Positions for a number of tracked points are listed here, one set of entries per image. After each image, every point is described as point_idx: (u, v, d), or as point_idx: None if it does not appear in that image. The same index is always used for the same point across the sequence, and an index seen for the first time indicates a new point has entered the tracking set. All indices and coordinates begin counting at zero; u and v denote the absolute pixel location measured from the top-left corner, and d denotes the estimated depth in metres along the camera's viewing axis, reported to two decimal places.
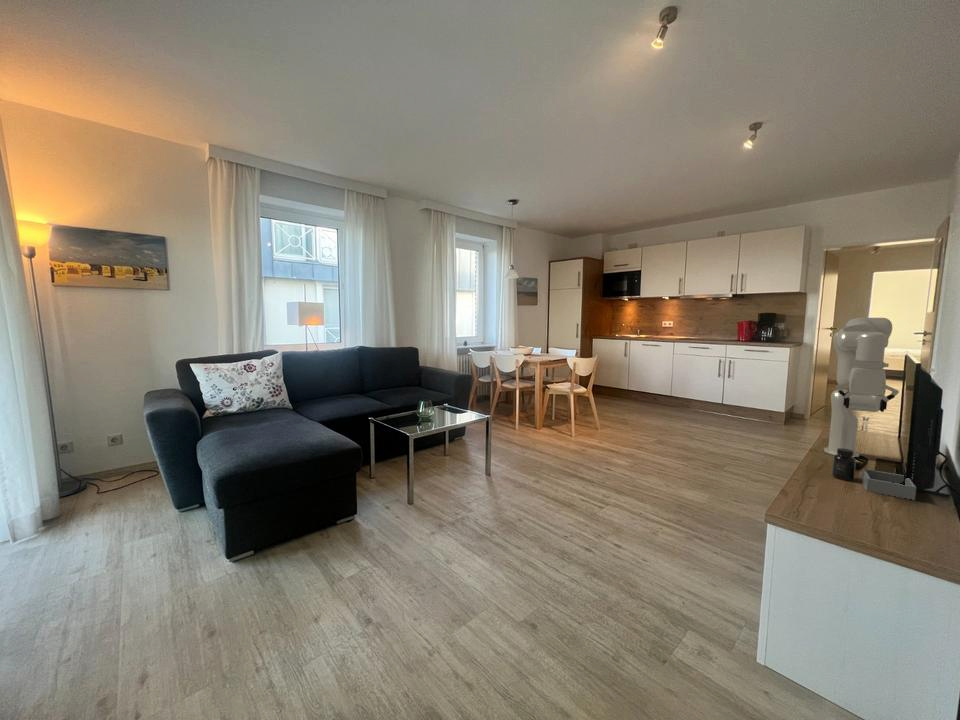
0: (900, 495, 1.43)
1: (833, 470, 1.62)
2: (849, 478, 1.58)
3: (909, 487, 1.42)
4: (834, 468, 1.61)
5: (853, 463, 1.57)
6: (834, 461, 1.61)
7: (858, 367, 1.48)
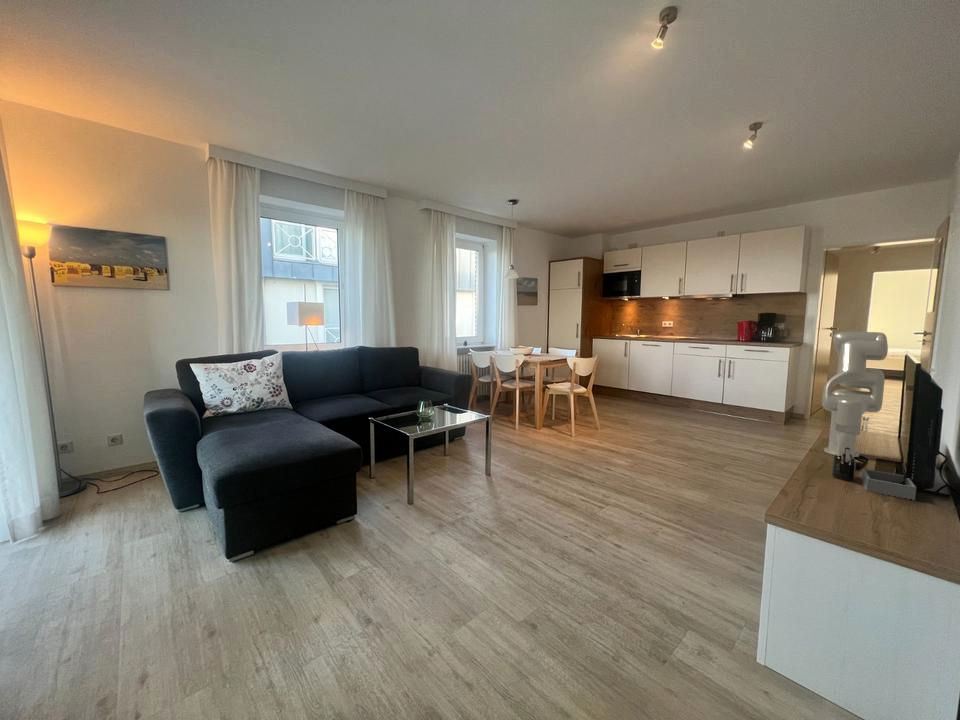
0: (900, 495, 1.43)
1: (833, 470, 1.62)
2: (849, 478, 1.58)
3: (909, 487, 1.42)
4: (834, 468, 1.61)
5: (853, 463, 1.57)
6: (834, 461, 1.61)
7: (856, 433, 1.55)
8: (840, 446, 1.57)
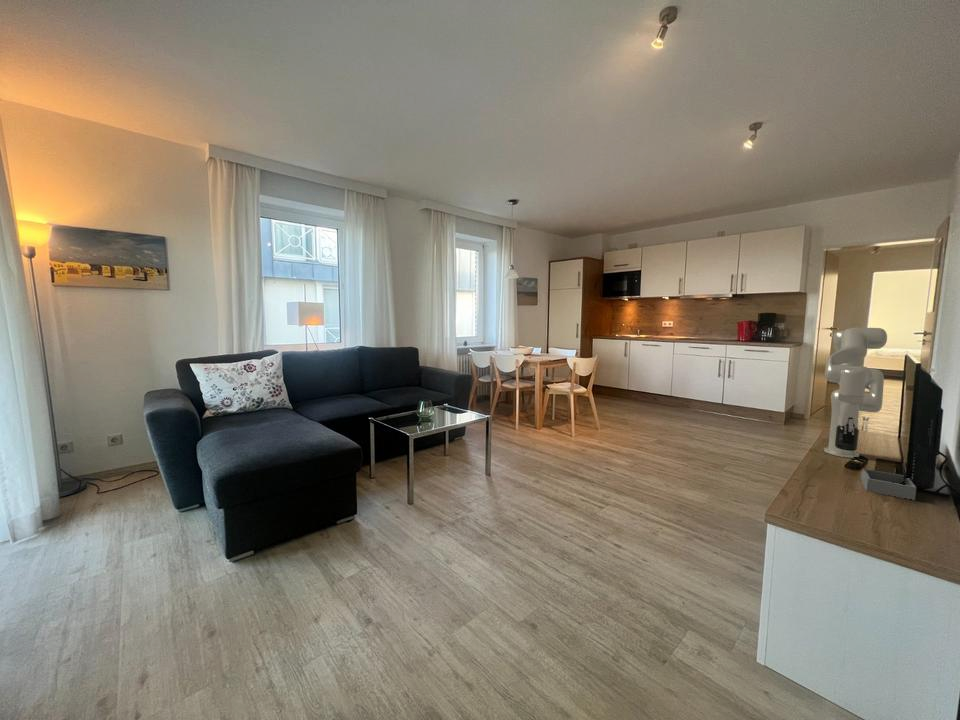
0: (900, 495, 1.43)
1: (836, 441, 1.61)
2: (852, 448, 1.57)
3: (909, 487, 1.42)
4: (837, 439, 1.60)
5: (856, 433, 1.56)
6: (837, 432, 1.60)
7: (859, 402, 1.54)
8: (843, 416, 1.56)
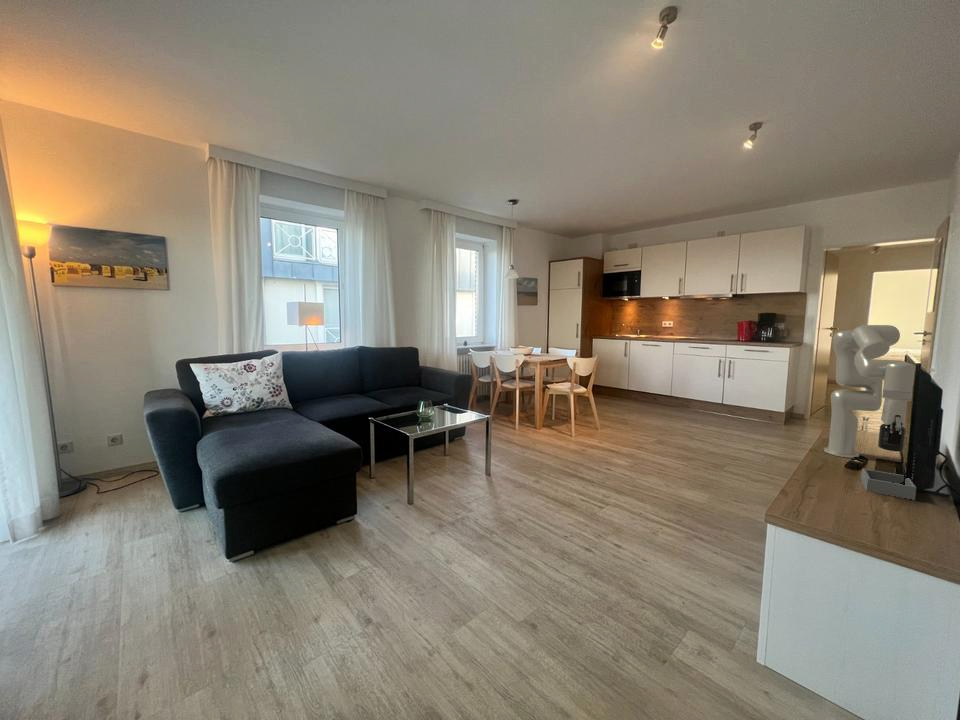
0: (900, 495, 1.43)
1: (880, 441, 1.49)
2: (899, 449, 1.45)
3: (909, 487, 1.42)
4: (881, 438, 1.48)
5: (903, 432, 1.44)
6: (881, 431, 1.48)
7: (907, 399, 1.42)
8: (889, 414, 1.44)
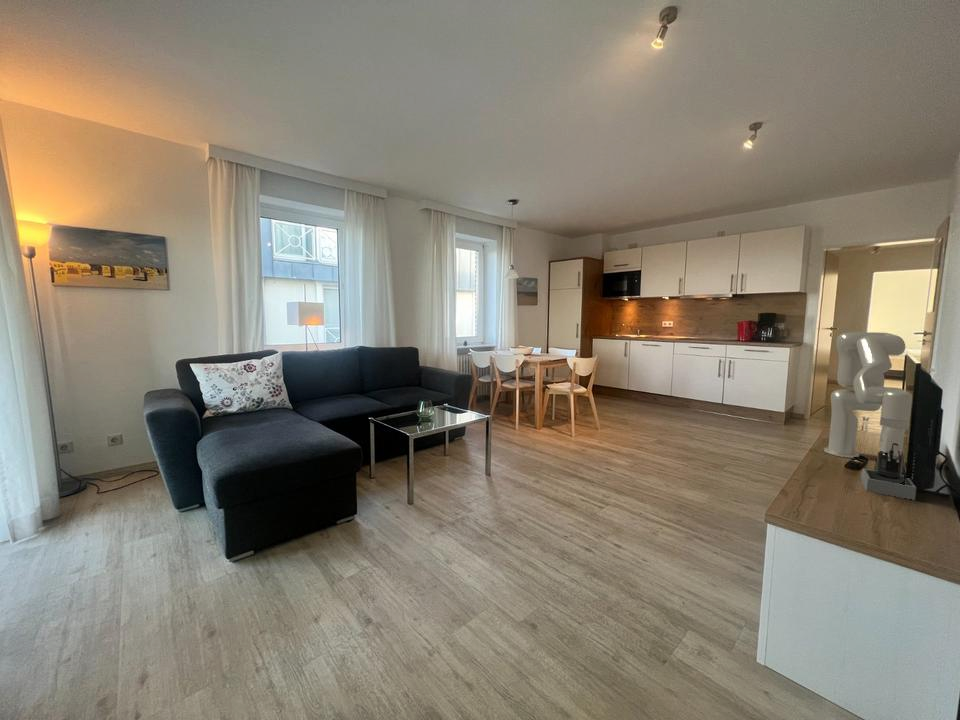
0: (900, 495, 1.43)
1: (878, 468, 1.50)
2: (896, 476, 1.46)
3: (909, 487, 1.42)
4: (879, 466, 1.49)
5: (901, 460, 1.45)
6: (879, 458, 1.49)
7: (904, 427, 1.43)
8: (887, 442, 1.45)
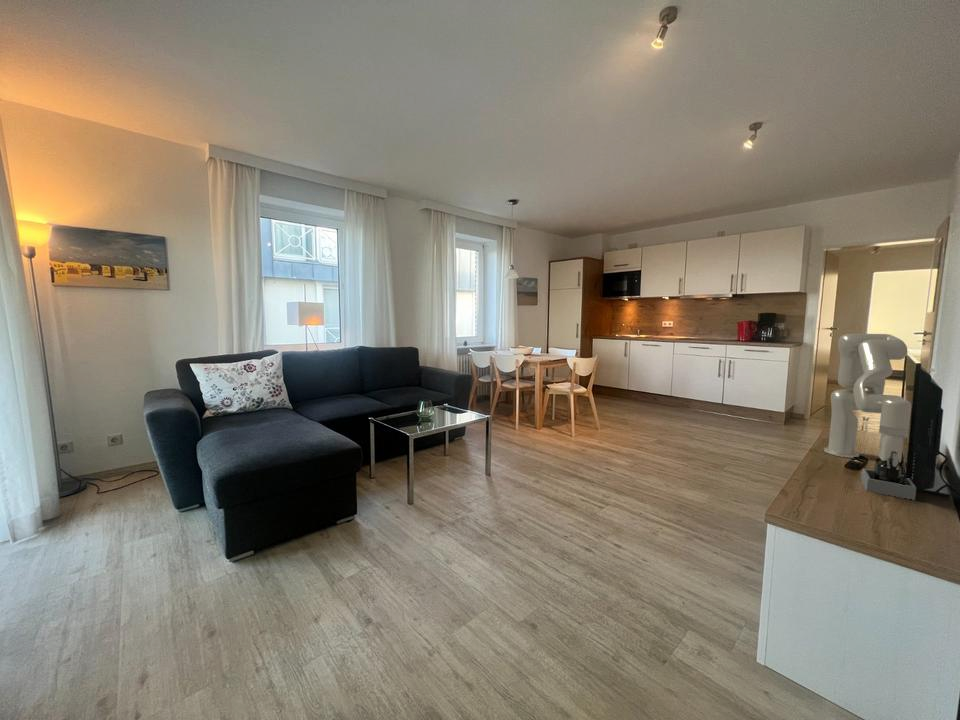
0: (900, 495, 1.43)
1: (876, 479, 1.51)
2: None
3: (909, 487, 1.42)
4: (877, 477, 1.50)
5: (899, 472, 1.46)
6: (877, 469, 1.50)
7: (903, 436, 1.44)
8: (886, 450, 1.45)
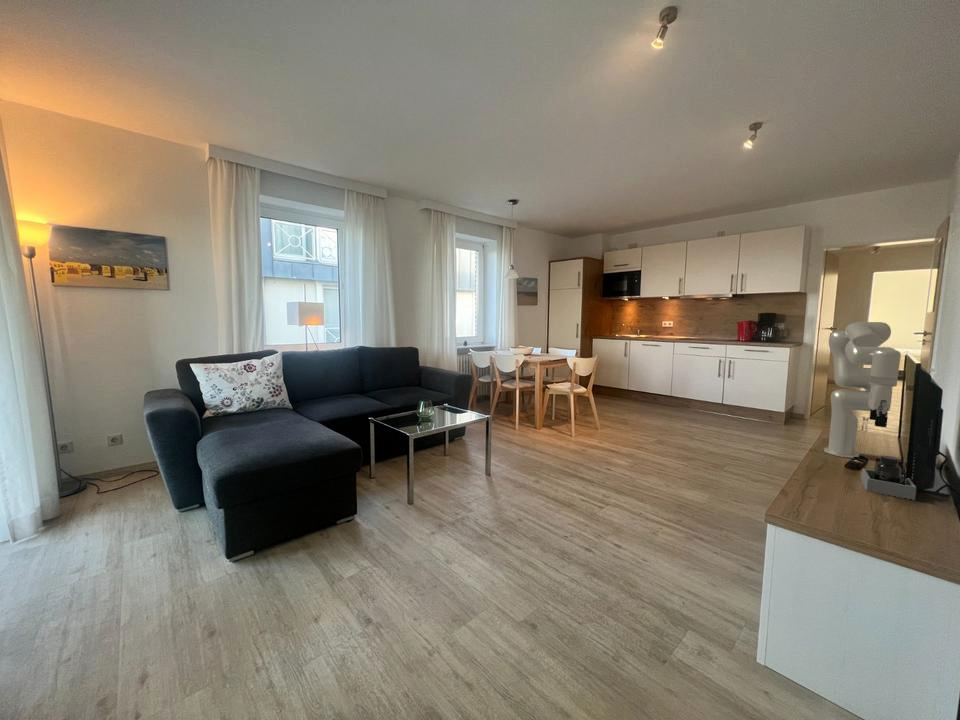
0: (900, 495, 1.43)
1: (876, 479, 1.51)
2: None
3: (909, 487, 1.42)
4: (877, 477, 1.50)
5: (899, 472, 1.46)
6: (877, 469, 1.50)
7: (892, 384, 1.48)
8: (875, 399, 1.50)
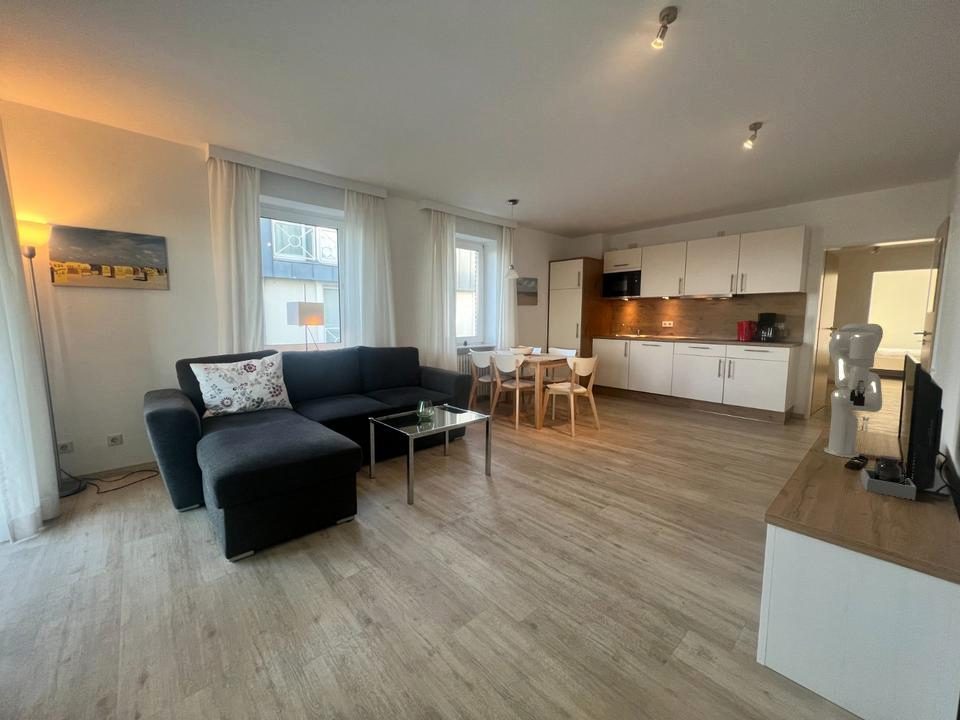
0: (900, 495, 1.43)
1: (876, 479, 1.51)
2: None
3: (909, 487, 1.42)
4: (877, 477, 1.50)
5: (899, 472, 1.46)
6: (877, 469, 1.50)
7: (869, 366, 1.57)
8: (854, 379, 1.59)
